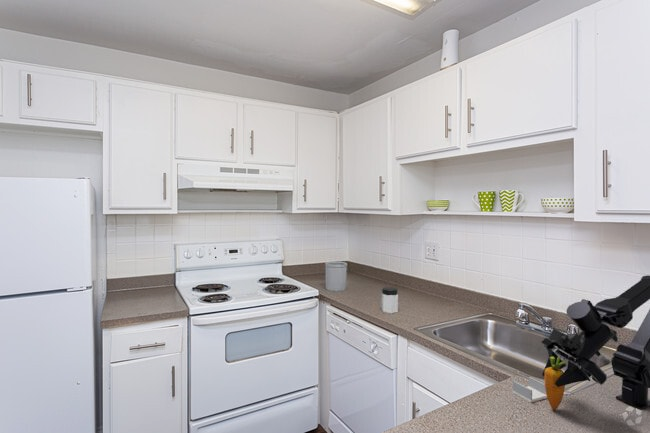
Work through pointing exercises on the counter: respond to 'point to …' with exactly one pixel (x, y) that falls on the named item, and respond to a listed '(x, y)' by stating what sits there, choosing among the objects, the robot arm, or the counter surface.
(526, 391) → the white railed tray
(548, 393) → the carrot
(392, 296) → the jar
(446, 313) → the counter surface
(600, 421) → the counter surface
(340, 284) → the utensil holder
